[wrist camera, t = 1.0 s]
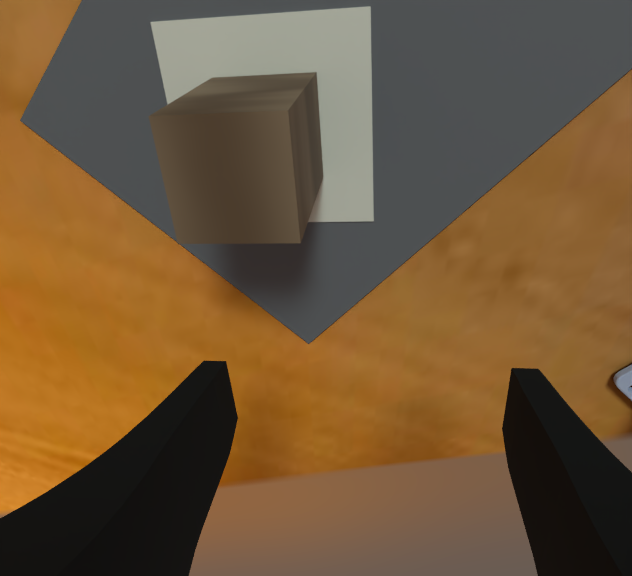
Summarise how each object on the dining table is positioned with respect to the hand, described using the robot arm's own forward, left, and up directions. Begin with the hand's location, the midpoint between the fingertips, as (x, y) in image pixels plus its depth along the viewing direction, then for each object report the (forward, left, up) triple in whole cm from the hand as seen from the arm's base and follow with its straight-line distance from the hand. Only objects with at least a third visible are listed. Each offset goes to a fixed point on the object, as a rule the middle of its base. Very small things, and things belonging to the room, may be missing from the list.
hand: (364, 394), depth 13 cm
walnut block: (+6, 0, -10) cm, 12 cm away
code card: (+6, 0, -11) cm, 12 cm away
